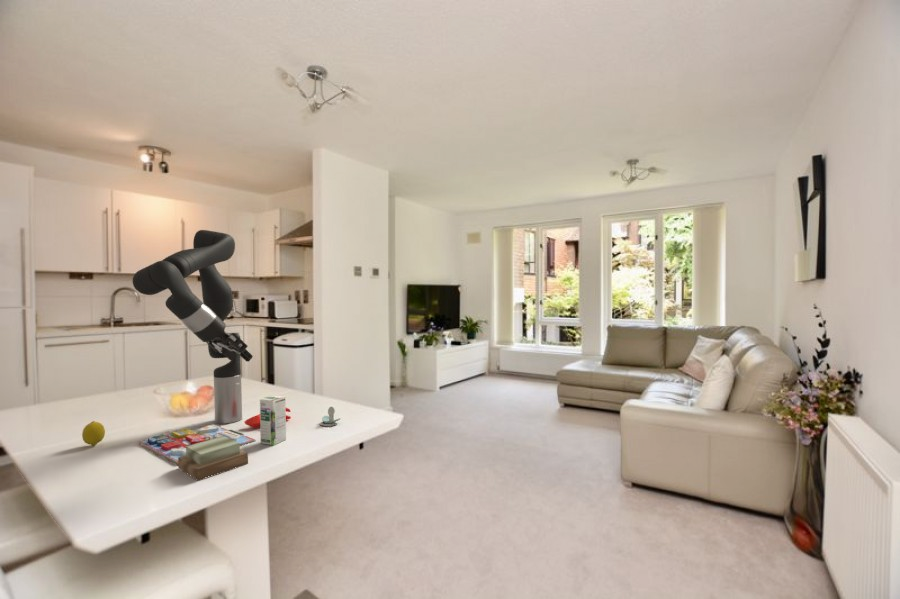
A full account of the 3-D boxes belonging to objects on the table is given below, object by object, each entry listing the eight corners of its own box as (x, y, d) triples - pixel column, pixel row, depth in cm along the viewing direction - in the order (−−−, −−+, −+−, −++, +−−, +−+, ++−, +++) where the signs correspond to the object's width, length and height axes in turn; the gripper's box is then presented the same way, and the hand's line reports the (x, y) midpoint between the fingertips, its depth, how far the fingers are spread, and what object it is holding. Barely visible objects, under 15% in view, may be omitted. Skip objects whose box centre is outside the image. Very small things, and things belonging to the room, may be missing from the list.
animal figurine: (240, 428, 149) (239, 415, 149) (278, 417, 161) (277, 404, 161) (257, 434, 142) (256, 420, 142) (296, 422, 154) (295, 408, 154)
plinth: (178, 468, 115) (177, 446, 115) (227, 453, 125) (226, 433, 125) (198, 480, 107) (197, 457, 107) (248, 463, 117) (247, 442, 117)
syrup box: (259, 443, 132) (258, 398, 132) (273, 437, 138) (272, 394, 138) (273, 445, 130) (272, 400, 130) (287, 439, 136) (286, 395, 135)
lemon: (80, 450, 129) (79, 425, 129) (85, 444, 134) (84, 420, 134) (102, 447, 132) (101, 422, 132) (107, 441, 137) (106, 417, 137)
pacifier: (330, 428, 147) (342, 423, 152) (329, 411, 146) (342, 406, 152) (316, 425, 150) (328, 420, 156) (315, 408, 150) (327, 404, 155)
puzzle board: (256, 443, 135) (256, 435, 135) (178, 468, 116) (177, 458, 116) (212, 426, 153) (212, 419, 153) (138, 445, 134) (138, 437, 134)
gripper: (226, 312, 115) (264, 349, 124) (199, 312, 122) (236, 348, 131) (206, 331, 110) (247, 369, 119) (179, 331, 117) (220, 367, 127)
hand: (241, 358), depth 125 cm, fingers open, 8 cm apart
